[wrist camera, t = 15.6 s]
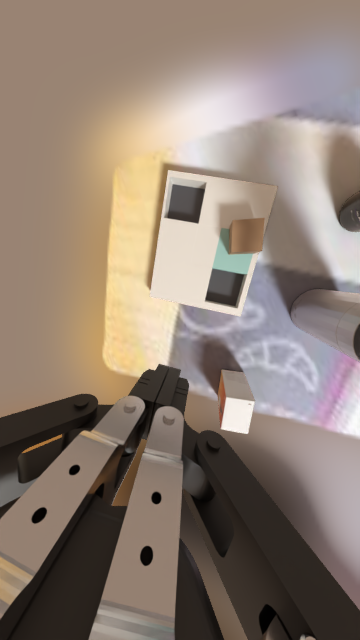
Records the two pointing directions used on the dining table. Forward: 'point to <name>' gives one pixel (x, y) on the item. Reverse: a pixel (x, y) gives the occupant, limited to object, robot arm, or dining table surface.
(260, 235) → the walnut block
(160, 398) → the robot arm
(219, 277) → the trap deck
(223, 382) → the small box
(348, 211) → the supplement bottle
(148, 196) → the dining table surface
